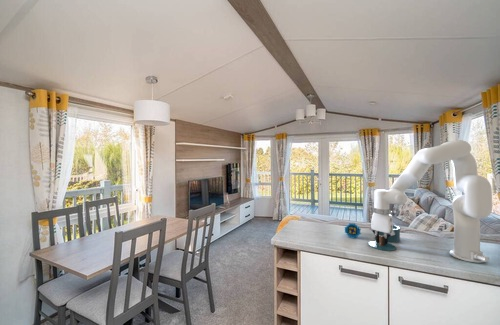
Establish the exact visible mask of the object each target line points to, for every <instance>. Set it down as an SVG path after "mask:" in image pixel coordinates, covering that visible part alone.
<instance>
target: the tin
mask: <svg viewBox="0 0 500 325" xmlns="http://www.w3.org/2000/svg"><path fill="white" fill-rule="evenodd" d="M393 231H394V233H395V235H393V236H390V237H388V243H390V244H396V243H400V241H401V239H400V238H401V228H400V226H398V225H395V224H393ZM390 233H391V232H390ZM390 233H388V234H390ZM379 235H384V232H380V231H379Z"/></svg>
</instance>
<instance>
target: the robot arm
mask: <svg viewBox="0 0 500 325" xmlns="http://www.w3.org/2000/svg"><path fill="white" fill-rule="evenodd" d="M471 151H472V146H471V143H469V142H468V141H466V140H464V139H463V140H462V139H457V140H450V141H445V142H443V143H442V144H439V145H435V146H432V147H425V148H421V149H419V150H418V151H417V152H416V153H415V154H414V156H413V157H412V159H411V160H410V162H409V163H408V165H407V166H406V168H405V169H404V170H403V172H402V173H401V174H400V175H399V176H398V177H397V178H396V179H395V180H394V181H393V183H392V185H391V186H390V188H389V189H388V190H387V189H375V190H374V191H373V212H372V216H371V221H370V222H371V224H370V226H369V228H368V229H369V231H370V232H372V233H373V234H374V236H375V241H376V243H379V231H380V232H384V238H383V245H386V244H387V243H389V242H388V237H390V236H393V235H395V233H394V231H393V225H394V222H393V216H392V214H393V211H392V210H391V209H390V204H392V205H397V206H398V205H404V204H406V203H407V202H408V196H407V194H406V191H407V190H408V189H409V188H410V187H411V186H412V185H413V184H415V183H418V182H419V181H421V179H423V178H424V176H425V174H426V172H427V171H428V170H429V169H430V167H431V166H432V165H437V164H442V163H447V162H451V164H452V167H453V184H454V188H455V190H457V191H459V192H461V193H464V194H460V195H457V196H455V197H454V198H453V199H452V202H451V208H452V212H453V249H451V250H450V251H449V255H450V256H452V257H453V258H454V259H455V258H456V259H458V260H461V261H464V262H469V263H476V264H477V263H478V264H481V263H487V262H489V260H490V258H489V257H488V256H486V255H484V253H483V251H481V219H485V218H488V217H489V216H491V213H492V211H493V189H492V185H491V182H490V180H488V179H487V178H486V177H484V176H482V175H479V174H478V166H477V161H476V158H475V157H474V155H473V154H472V153H471ZM390 232H391V233H390ZM388 233H390V234H388Z"/></svg>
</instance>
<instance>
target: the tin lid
mask: <svg viewBox="0 0 500 325" xmlns="http://www.w3.org/2000/svg"><path fill="white" fill-rule="evenodd" d="M383 238H384V235H379V243H376V240H369V241H368V242H367V244H368V246H369V247H370V248H373V249H375V250H378V251H384V252H393V251H396V249H397V246H395V245H394V244H393V243H391V242H388V243H387V244H386V245H383Z"/></svg>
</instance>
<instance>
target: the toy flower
mask: <svg viewBox="0 0 500 325" xmlns="http://www.w3.org/2000/svg"><path fill="white" fill-rule="evenodd" d="M361 229H362V228H360V226H358V224H356V223H353V222H349V223H348V224H347V225H345V226H344V233H345V234H346V235H347V236H348V237H349V238H351V239H356V238H358V237H360V235H362V233H361Z"/></svg>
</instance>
